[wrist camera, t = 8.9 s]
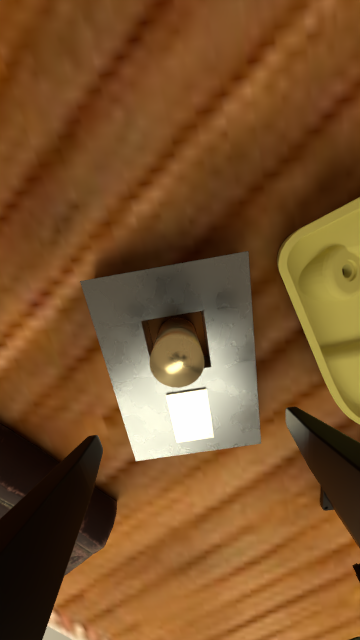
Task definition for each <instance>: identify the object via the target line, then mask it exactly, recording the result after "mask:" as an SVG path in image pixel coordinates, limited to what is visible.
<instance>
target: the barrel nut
mask: <svg viewBox="0 0 360 640" xmlns="http://www.w3.org/2000/svg"><path fill="white" fill-rule="evenodd" d="M149 362H150V369H151V372H152V374H153V376H154V377H155V378H156V379H157V380H158V381H159V382H160V383H162V384H164V385H166V386H169V387H175V388H179V387H185V386H188V385H190V384H192V383H194V382H195V381H196V380H197V379H198V378H199V377H200V375H201V374H202V372H203V369H204V356H203V353H202V350H201V346H200V343H199V340H198V337H197V333H196V330H195V328H194V326H193V325H192V323H191V322H189V321H188V320H186V319H184V318H171V319H169V320H167V321H166V322H164V323H163V325H162V326H161V328H160V330H159V333H158V336H157V339H156V341H155V344H154V347H153V350H152V353H151V356H150V361H149Z"/></svg>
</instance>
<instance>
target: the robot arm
mask: <svg viewBox="0 0 360 640" xmlns="http://www.w3.org/2000/svg"><path fill="white" fill-rule="evenodd" d="M286 424H287V427H288V429H289V431H290V433H291V435H292V437H293V438H294V440H295V442H296V444H297V446H298V448H299V450H300V452H301V454H302V455H303V457H304V459H305V461H306V463H307V464H308V466H309V468H310V469H311V471H312V473H313V474H314V476H315V477H316V479H317V480H318V482H319V484H320V485H321V504H320V505H321V507H322V509H323V510H335V512H336V513H337V515H338V516H339V518H340V519H341V521H342V522H343V524H344V525H345V527H346V528H347V530H348V531H349V533H350V534H351V536H352V537H353V539H354V540H355V542H356V543H357V545H358V546H359V548H360V443H359V442H357V441H356V440H354V439H352V438H350V437H348V436H347V435H345V434H343V433H341V432H340V431H338V430H336V429H334V428H333V427H331V426H329V425H327V424H326V423H324V422H322V421H320V420H318V419H317V418H315V417H313V416H311V415H310V414H308V413H306V412H304V411H303V410H301V409H299V408H297V407H288V408H286ZM102 453H103V448H102V445H101V442H100V439H99V437H98V435H93V436H89V437H87V438H86V439H85V440H84V441H83V442H82V443H81V444H80V445H79V446H77V447H76V448H75V449H74V450H73V451H72V452H71V453H70V454H69V455H68V456H67V457H66V458H65V459H64V460H63V461H61V462H60V463H59V464H58V465H57V466H56V467H55V468H54V469H53V470H52V471H51V472H50V473H49V474H48V475H46V476H45V477H44V478H43V479H42V480H41V481H40V482H39V483H38V484H37V485H36V486H35V487H34V488H33V489H32V490H30V491H29V492H28V493H27V494H26V495H25V496H24V497H23V498H22V499H21V500H20V501H19V502H18V503H17V504H15V505H14V506H13V507H12V508H11V509H10V510H9V511H8V512H7V513H6V514H5V515H4V516H3V517H2V518H0V640H42V639H43V636H44V633H45V630H46V627H47V624H48V621H49V619H50V616H51V613H52V610H53V607H54V604H55V601H56V598H57V595H58V592H59V589H60V586H61V583H62V581H63V578H64V575H65V572H66V569H67V566H68V563H69V560H70V557H71V554H72V551H73V548H74V545H75V542H76V540H77V537H78V534H79V531H80V528H81V525H82V522H83V519H84V516H85V513H86V510H87V507H88V504H89V502H90V498H91V495H92V492H93V488H94V485H95V481H96V477H97V473H98V469H99V465H100V461H101V457H102ZM352 566H353V568H354V570H355V572H356V576H357V578H358V580H359V582H360V564H357V563H356V564H354V565H352Z"/></svg>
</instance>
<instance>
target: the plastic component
mask: <svg viewBox="0 0 360 640" xmlns="http://www.w3.org/2000/svg"><path fill="white" fill-rule="evenodd" d="M277 266H278V269H279V272H280V274H281V277H282V279H283V282H284V284H285V286H286V289H287V291H288V294H289V296H290V299H291V301H292V303H293V306H294V308H295V311H296V313H297V315H298V318H299V320H300V323H301V325H302V328H303V330H304V332H305V335H306V337H307V340H308V342H309V344H310V347H311V349H312V352H313V354H314V357H315V359H316V361H317V364H318V367H319V369H320V372H321V374H322V376H323V378H324V380H325V383H326V385H327V387H328V389H329V391H330V393H331V395H332V397H333V399H334V400H335V402H336V403H337V405H338V406H339V408H340V409H341V410H342V411H343V412H344V413H345V414H346V415H347V416H348V417H349V418H350V419H352V420H353V421H355V422H356V423H358V424H360V197H359V198H357V199H355V200H353V201H351V202H349V203H347V204H345V205H344V206H342V207H340V208H338V209H336V210H334V211H332V212H330V213H328V214H326V215H325V216H323V217H321V218H319V219H317V220H315V221H313V222H311V223H309V224H307V225H306V226H304V227H302V228H300V229H298V230H296V231H295V232H293V233H292V234H291V235H290V236H289V237H288V238H287V239H286V240H285V241H284V242H283V244H282V245H281V247H280V249H279V252H278V256H277ZM342 268H343V269H344V275H343V272H342Z"/></svg>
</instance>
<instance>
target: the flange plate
mask: <svg viewBox="0 0 360 640" xmlns="http://www.w3.org/2000/svg"><path fill="white" fill-rule="evenodd" d="M80 282H81V285H82V289H83V292H84V295H85V298H86V301H87V305H88V308H89V311H90V314H91V318H92V321H93V324H94V327H95V330H96V334H97V337H98V340H99V343H100V347H101V350H102V353H103V356H104V359H105V363H106V366H107V369H108V372H109V375H110V379H111V382H112V385H113V388H114V392H115V395H116V398H117V401H118V404H119V408H120V411H121V414H122V417H123V421H124V424H125V427H126V430H127V433H128V437H129V440H130V443H131V446H132V450H133V453H134V456H135V459H136V461H139V460H146V459H154V458H161V457H168V456H175V455H182V454H189V453H197V452H204V451H211V450H218V449H225V448H232V447H239V446H247V445H254V444H261V436H260V421H259V406H258V391H257V375H256V360H255V345H254V330H253V315H252V300H251V284H250V269H249V254H248V251H247V252H241V253H236V254H230V255H224V256H219V257H213V258H208V259H202V260H196V261H191V262H185V263H180V264H174V265H168V266H163V267H157V268H152V269H146V270H141V271H135V272H129V273H124V274H118V275H113V276H107V277H101V278H96V279H90V280H85V281H80ZM197 311H201V315H202V322H203V329H204V336H205V343H206V350H207V355H206V356H204V369H203V372H202V374H201V375H200V377H199V378H198V379H197V380H196V381H195V382H194V383H192V384H190V385H188V386H185V387H179V388H175V387H169V386H166V385H164V384H162V383H160V382H159V381H158V380H157V379H156V378H155V377H154V376H153V374H152V372H151V369H150V362H149V361H150V356H151V353H152V350H153V343H152V339H151V334H150V330H149V326H148V321H147V320H150V319H155V318H161V317H167V316H173V315H179V314H185V313H191V312H197Z"/></svg>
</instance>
